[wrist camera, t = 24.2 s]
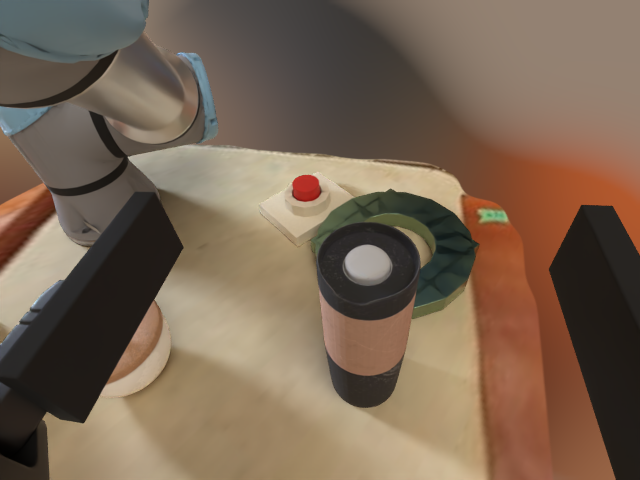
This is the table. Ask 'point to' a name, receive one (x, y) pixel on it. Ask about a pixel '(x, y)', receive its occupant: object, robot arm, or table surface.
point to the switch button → (306, 188)
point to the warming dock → (427, 221)
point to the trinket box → (141, 356)
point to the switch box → (303, 210)
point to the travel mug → (366, 307)
